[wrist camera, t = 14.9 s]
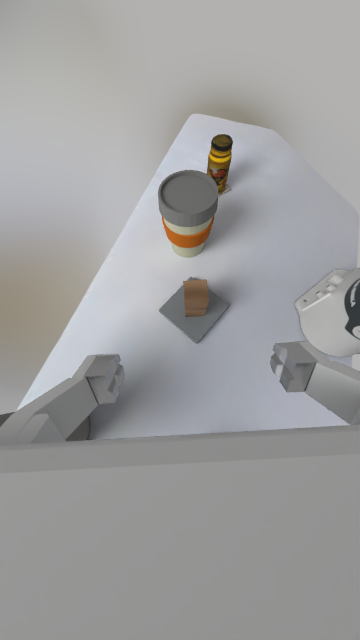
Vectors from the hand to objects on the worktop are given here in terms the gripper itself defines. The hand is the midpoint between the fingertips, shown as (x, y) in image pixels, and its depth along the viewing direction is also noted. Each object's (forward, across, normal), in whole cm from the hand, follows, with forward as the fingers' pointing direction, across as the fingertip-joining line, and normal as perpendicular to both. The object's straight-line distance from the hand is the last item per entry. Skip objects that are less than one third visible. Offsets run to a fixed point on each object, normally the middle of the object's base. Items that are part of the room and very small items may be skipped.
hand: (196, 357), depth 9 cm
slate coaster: (+32, -2, +12) cm, 34 cm away
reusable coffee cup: (+46, -2, -2) cm, 46 cm away
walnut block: (+31, -2, +11) cm, 33 cm away
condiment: (+61, -12, -17) cm, 65 cm away
